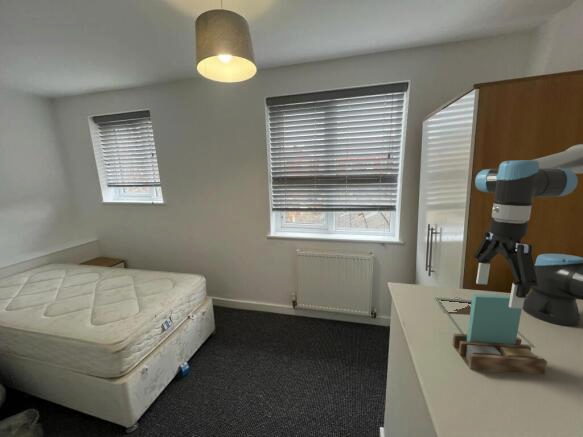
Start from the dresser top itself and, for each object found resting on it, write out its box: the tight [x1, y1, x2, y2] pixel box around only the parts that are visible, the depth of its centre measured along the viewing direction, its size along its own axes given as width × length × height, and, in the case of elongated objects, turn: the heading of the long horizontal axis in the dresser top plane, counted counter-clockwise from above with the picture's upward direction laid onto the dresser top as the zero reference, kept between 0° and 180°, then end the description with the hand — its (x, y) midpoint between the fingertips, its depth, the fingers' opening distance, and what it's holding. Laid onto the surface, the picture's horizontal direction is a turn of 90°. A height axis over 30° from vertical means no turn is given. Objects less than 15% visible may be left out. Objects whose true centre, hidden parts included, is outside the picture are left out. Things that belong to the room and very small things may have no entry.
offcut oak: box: [500, 347, 538, 358], centre depth 67 cm, size 7×3×4 cm, turn 83°
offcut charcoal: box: [466, 345, 502, 361], centre depth 69 cm, size 7×3×4 cm, turn 83°
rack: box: [451, 333, 548, 376], centre depth 70 cm, size 18×9×5 cm, turn 83°
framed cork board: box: [434, 296, 536, 348], centre depth 90 cm, size 19×2×30 cm
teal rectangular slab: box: [466, 293, 523, 345], centre depth 71 cm, size 12×2×18 cm, turn 83°
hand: (496, 294), depth 69 cm, fingers open, 13 cm apart
